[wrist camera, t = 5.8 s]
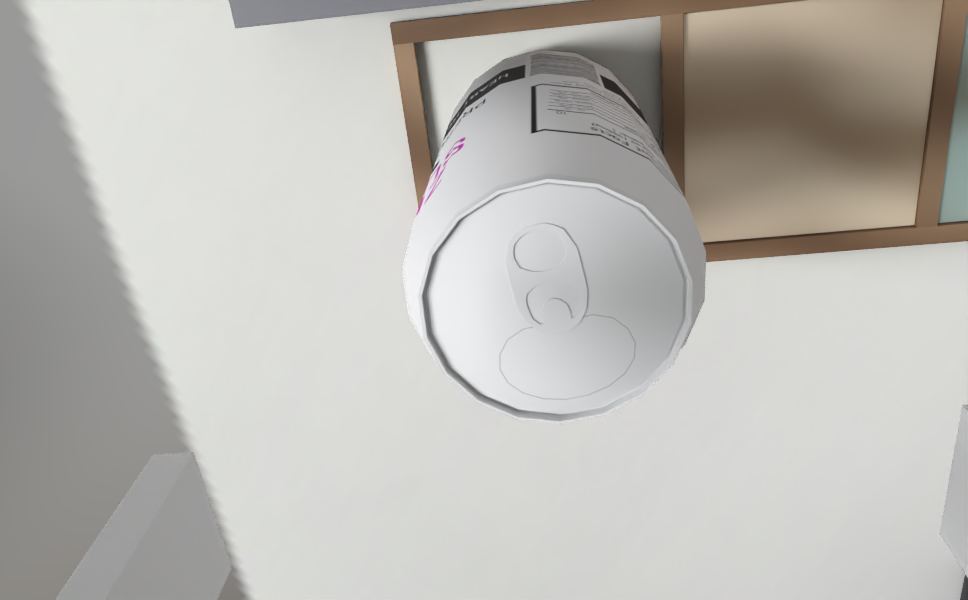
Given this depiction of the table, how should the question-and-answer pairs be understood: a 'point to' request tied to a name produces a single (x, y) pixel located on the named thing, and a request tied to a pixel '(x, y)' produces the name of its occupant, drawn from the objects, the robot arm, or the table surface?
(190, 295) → the table surface
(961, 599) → the battery charger
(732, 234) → the frame
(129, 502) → the robot arm
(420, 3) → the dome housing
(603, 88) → the supplement can
